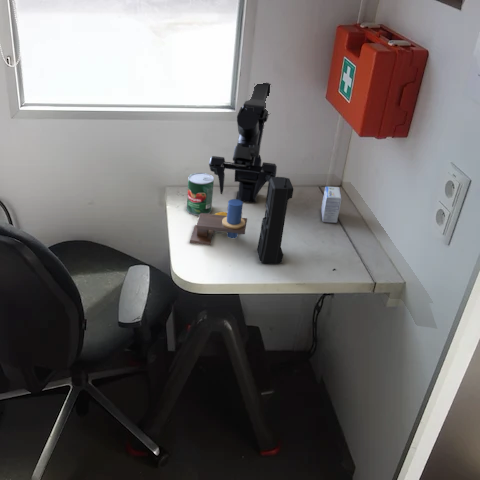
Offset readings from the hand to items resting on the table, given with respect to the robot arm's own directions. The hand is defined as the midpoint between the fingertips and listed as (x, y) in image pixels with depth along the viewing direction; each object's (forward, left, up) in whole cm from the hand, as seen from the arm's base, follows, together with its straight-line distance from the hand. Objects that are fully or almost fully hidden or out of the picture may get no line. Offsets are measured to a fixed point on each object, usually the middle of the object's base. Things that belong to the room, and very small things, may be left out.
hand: (237, 196), depth 151 cm
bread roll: (-3, -4, -11) cm, 12 cm away
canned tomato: (-13, -12, -13) cm, 22 cm away
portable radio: (+9, +10, -13) cm, 19 cm away
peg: (+3, 0, -11) cm, 12 cm away
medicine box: (-18, +28, -13) cm, 36 cm away
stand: (+3, -4, -13) cm, 14 cm away
